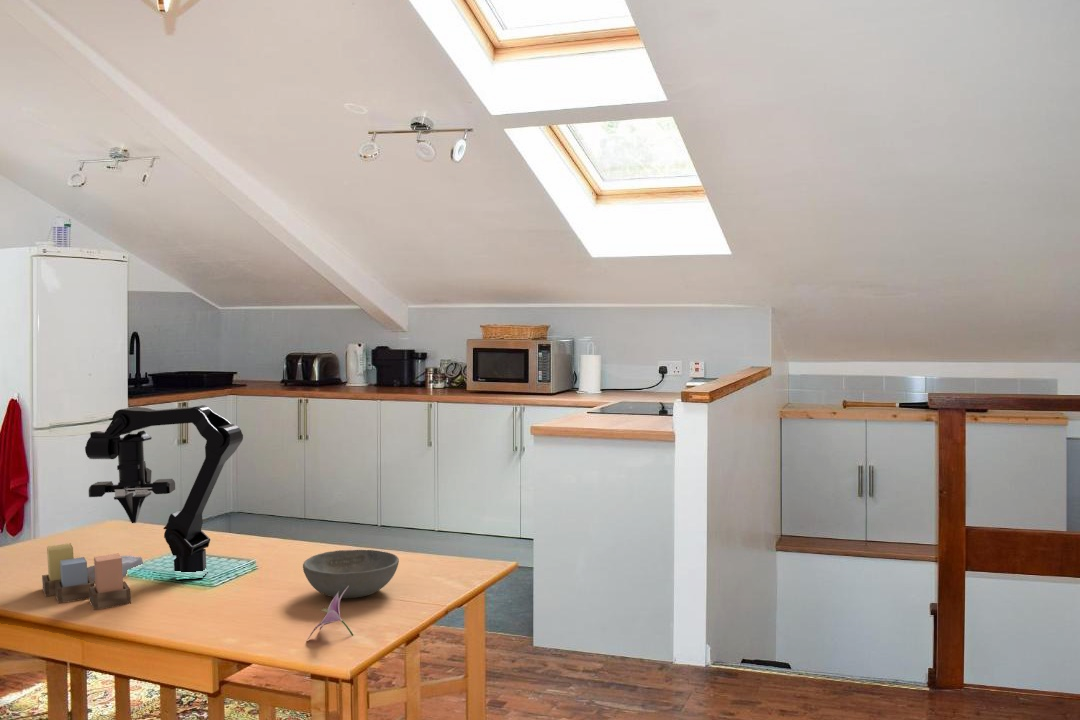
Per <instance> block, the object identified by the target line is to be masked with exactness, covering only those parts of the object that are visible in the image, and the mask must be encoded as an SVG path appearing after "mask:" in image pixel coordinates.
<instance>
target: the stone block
mask: <svg viewBox="0 0 1080 720" xmlns="http://www.w3.org/2000/svg"><path fill="white" fill-rule="evenodd" d="M120 556H121V558H122V571H123V578H125V577H127V576H126V574H127V570H128V569H131V568H133V567H136V566H138V565H141V564H143V565H144V560H143V557H142V556H133V555H120ZM87 575H88V576H91V578H92V580H93V582H95V567H94V565H91V566H87Z"/></svg>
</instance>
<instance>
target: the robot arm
mask: <svg viewBox="0 0 1080 720" xmlns="http://www.w3.org/2000/svg"><path fill="white" fill-rule="evenodd" d="M181 424H193V425H194V426H195V428H196V430H197V431H198V433H199V434H200V436H201V437H202V438H203V439H205V440H206V442H205V446H204V451H205V452H204V453H205V454H204V455H205V456H204V457H205V458H204V460H203V463H202V465H201V466H200V469H199V472H198V473H197V476H196V478H195V480H194V482H193V484H192V486H191V489H190V491H189V494H188V495H187V498H186V500H185V503H184V505H183V507H182V509H180V510H177V511H175V512H173V513H171V514H170V515H169V516H168V520H167V523H166V525H165V526H164V527H163V530H164V535H163V538H164V539H165V542H166V543H167V545H168V548H169V550H170V552H171V554H172V556H173V557H174V556H175V558H174V560H173V566H174V567H173V571H181V572H196V571H203V570H205V568H206V569H207V551H206V548H209V545H210V542H211V538H210V537H209V536H208V534H206V533H205V532H204V531H203V530H202V527H203V524H204V523H203V513H204V509H206V506H207V503H208V501H209V499H210V498H211V497H210V496H211V494H212V492H213V489H214V488H215V486H216V483H217V481H218V479H219V477H220V474H221V472H222V470H223V468H224V467H225V464H226V462H227V461H228V460H229V459H230V458H231V457H232V456H233V454H234V453H236V451H237V450H238V448H239V446H240V445H241V444H242V442H243V440H244V434H243V431H242V429H241V428H240V427H239V426H238V425H236V424H234V423H232V422H230V421H229V420H228V419H227V418H225V417H223V416H222V415H219V414H218V413H217V412H215V411H213V410H212V409H211V408H210V407H209V406H208V405H206V404H205V405H204V404H203V405H198V406H188V407H177V408H165V409H163V408H162V409H152V408H149V407H141V406H132V407H127V408H121V409H117V410H115V412H114V414H113V415H112V418H111V422H110V423H109V425H108V426H107V428H106V429H105V431H100V430H99V431H98V430H96V431H95V430H94V431H90V433H89V434H90V435H89V436H90V437H89V438H88V440H86V445H85V447H84V449H85V450H84V451H85V455H86V456H87V458H88V459H89V460H115V459H117V462H118V465H117V467H116V470H117V471H118V483H117V484H114V482H113V481H112V480H111V481H97V482H94V483H93V484H91V485H90V486H88V498H99V497H101V498H102V497H103V496H105V494H106V493H114V497H113V499H114V500H115V501H118V502H119V504H120V505H121V506H122V507H123V509H124V511H125V513H126V514H127V517H128V518H129V520H130V522H131V524H136V523H137V522H138V519H139V515H140V512H141V509H142V506H143V503H144V502H145V500H146V498H147V497H150V496H151V495H152V493H154V494H155V495H167V494H171V493H172V492H173V491H175V490H176V482H175V480H174V479H173V478H159V479H156V480H155V481H153V482H152V471H153V470H151V469H150V468H148V467H147V465H146V464H147V463H146V460H145V455H144V442H146V441H150V440H152V436H151V435H149V434H148V433H146V431H145V430H143V429H147V428H151V427H157V426H166V425H167V426H168V425H181ZM139 430H140V431H139ZM136 431H138V432H137V433H133V432H136ZM121 436H123V437H121ZM134 493H135V495H134Z"/></svg>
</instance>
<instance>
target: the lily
mask: <svg viewBox="0 0 1080 720" xmlns="http://www.w3.org/2000/svg"><path fill="white" fill-rule="evenodd" d="M348 587H349V586H348ZM348 587H347V588H348ZM347 588H346V589H347ZM346 589H345V590H344V592H345V591H346ZM344 592H343V593H342V595H341V596H340V598H338V593H337V594H336V596H335V597H332V600H331V601H330V604H329V606H328V607H324V606H323V608H321V609H320V610H319V611H320V612H325V613H326V615H325V616H324V618H323V619H322V620H321V622H319V623H318V624H317V625H316V626H315V627H314V628H313V630H312V631H311V633H310V634H309V636H308V637H307V640H306V641H305V642H308V640H309V639H310V638H311V636H312V635H313V633H314V632H315V631H316V630H317V629H318V628H319V627H320V628H319V629H318V630H319V632H320V631H321V630H322V629H323V627H324V626H325V625H328V624H331V623H335V622H338V621H339V622H341V623H342V624H343V626H345V628H346V629H347V630H348V631H349V633H350V635H351V636H352V637H353V636H354V633H353V632H352V630H351V629H350V627H349V626H348V625H347V624H346V622H344V620H343V619H342V618H341V613H340V604H341V599H343V598H342V596H343V594H344Z"/></svg>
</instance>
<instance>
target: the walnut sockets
mask: <svg viewBox="0 0 1080 720" xmlns="http://www.w3.org/2000/svg"><path fill="white" fill-rule="evenodd" d="M41 579H42V581H41V582H42V591H43V590H44V591H43V593H44V596H46V597H51V595H52V596H55V597H56V601H57V602H58V604H63V602H64V603H68V601H69V602H74V601H75V602H76V601H82V600H85V599H86V598H87V599H89V602H91V603H90V604H92V605H91V607H92V608H94V609H93V610H94V611H95V610H100V609H101V608H102V609H106V607H107V608H112V606H113V607H117V606H118V605H119V606H124V605H129V603H130V604H131V603H132V602H131V601H132V600H131V599H132V595H131V588H130V586H129V585H128V583H127V582H126V581H124V580H123V589H122V590H116V591H110V592H104V593H97V591H96V586H95V581H93V580H92V578H91V576H88V583H87V584H81V585H75V586H69V587H62V588H61V579H60V580H54V581H50V580H49V576H48V574H43V575H42V576H41ZM123 604H124V605H123ZM119 606H118V607H119Z"/></svg>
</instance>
